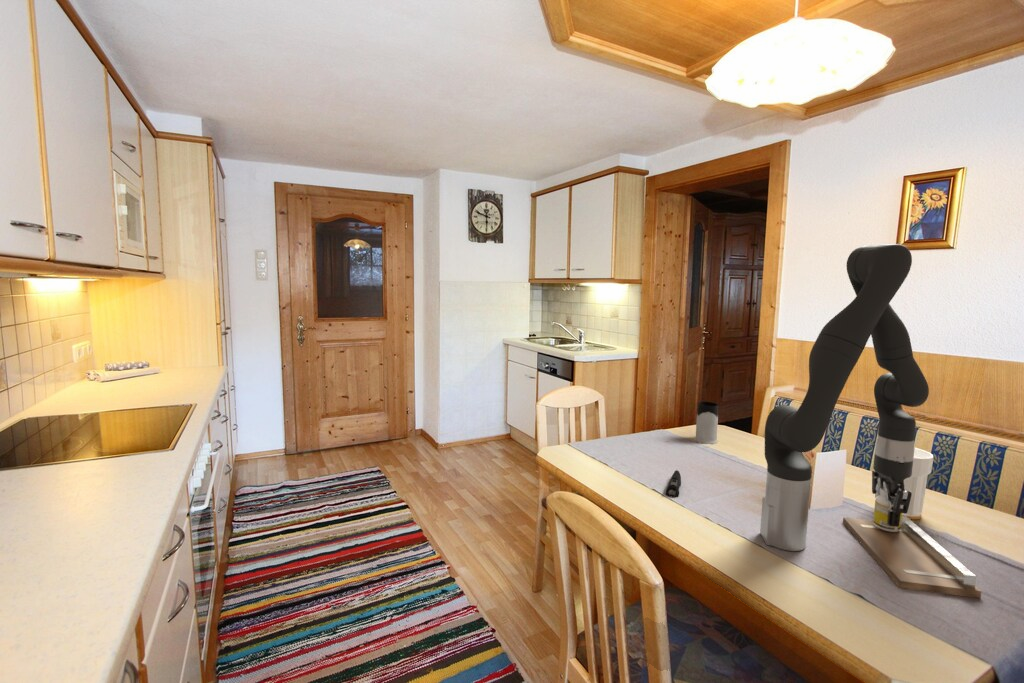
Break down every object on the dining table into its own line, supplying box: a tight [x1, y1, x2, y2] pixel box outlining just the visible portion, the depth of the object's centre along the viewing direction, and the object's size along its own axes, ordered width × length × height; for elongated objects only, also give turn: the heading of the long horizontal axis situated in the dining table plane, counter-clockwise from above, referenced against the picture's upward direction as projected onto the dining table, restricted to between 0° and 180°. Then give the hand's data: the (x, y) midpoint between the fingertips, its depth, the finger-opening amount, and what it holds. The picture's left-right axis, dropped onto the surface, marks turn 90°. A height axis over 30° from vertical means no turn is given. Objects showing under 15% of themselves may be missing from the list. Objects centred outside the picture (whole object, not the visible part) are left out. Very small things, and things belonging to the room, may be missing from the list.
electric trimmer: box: [665, 469, 682, 498], centre depth 149 cm, size 4×16×3 cm, turn 156°
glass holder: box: [694, 401, 719, 445], centre depth 195 cm, size 9×14×15 cm, turn 162°
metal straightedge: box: [900, 516, 978, 588], centre depth 110 cm, size 2×26×2 cm, turn 166°
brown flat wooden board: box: [842, 517, 982, 599], centre depth 112 cm, size 14×28×2 cm, turn 166°
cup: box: [902, 447, 934, 520], centre depth 133 cm, size 11×11×17 cm
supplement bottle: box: [873, 487, 902, 532], centre depth 121 cm, size 5×5×10 cm
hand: (886, 519), depth 121 cm, fingers closed on supplement bottle, 5 cm apart
